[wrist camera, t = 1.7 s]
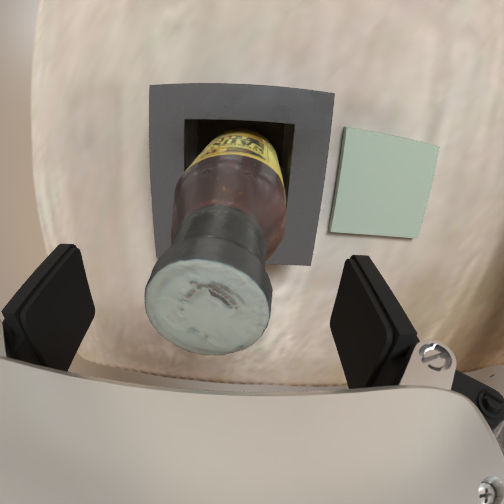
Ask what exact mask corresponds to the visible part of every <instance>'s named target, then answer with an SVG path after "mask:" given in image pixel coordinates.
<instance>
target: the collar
mask: <svg viewBox="0 0 504 504" xmlns="http://www.w3.org/2000/svg"><path fill="white" fill-rule="evenodd" d="M334 96H335V93H328V92H322V91H314V90H307V89H298V88H289V87H279V86H266V85H251V84H225V83H188V84H163V85H150V89H149V149H150V177H151V196H152V211H153V224H154V236H155V247H156V256H157V258H160V256H161V255H162V254H163V253H164V252H165V251H166V250H167V249H169V248H170V247H171V245H172V243H171V227H172V214H173V202H174V192H175V188H176V185H177V182H178V180H179V179H180V177H181V176H182V174H183V173H184V172H185V171H186V169H187V168H188V167H189V166H190V165H191V164H192V163H193V162H194V160H195V159H196V158H197V148H198V119H224V120H248V121H265V122H278V123H285V125H284V137H283V148H282V159H281V174H282V179H283V184H284V189H285V196H286V212H287V218H286V225H285V231H284V236H283V239H282V241H281V242H280V244H279V245H278V247H277V249H276V250H275V253H274V254H273V255H272V256H271V257H270V258H269V259H268V260H267V261H266V262H265V264H281V265H304V266H311V261H312V255H313V250H314V244H315V238H316V232H317V226H318V220H319V214H320V207H321V201H322V194H323V187H324V180H325V173H326V165H327V158H328V150H329V142H330V133H331V125H332V116H333V106H334Z"/></svg>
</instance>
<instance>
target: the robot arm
mask: <svg viewBox="0 0 504 504" xmlns="http://www.w3.org/2000/svg"><path fill="white" fill-rule="evenodd" d="M2 314H3V316H4V318H5V319H4V320H3V322H2V321H1V320H0V504H504V398H503V396H502V395H501V394H500V393H499V392H497V391H496V390H494V389H493V388H491V387H489V386H487V385H485V384H483V383H481V382H479V381H477V380H475V379H473V378H471V377H469V376H467V375H465V374H463V373H461V372H459V371H457V370H455V369H456V358H455V355H454V354H453V352H452V351H451V350H450V349H449V348H448V347H447V346H446V345H444V344H442V343H441V342H438V341H435V340H423V341H421V342H420V341H419V339H418V337H417V332H416V330H415V329H414V327H413V325H412V324H411V322H410V320H409V319H408V317H407V315H406V314H405V312H404V310H403V309H402V307H401V305H400V304H399V302H398V300H397V299H396V297H395V296H394V294H393V292H392V291H391V289H390V288H389V286H388V285H387V283H386V281H385V280H384V278H383V277H382V275H381V274H380V272H379V271H378V269H377V268H376V266H375V265H374V263H373V262H372V260H371V259H370V257H369V256H365V255H352V256H351V258H350V259H347V260H346V261H345V264H344V268H343V273H342V277H341V281H340V285H339V289H338V293H337V296H336V300H335V304H334V308H333V311H332V315H331V319H330V328H331V332H332V335H333V338H334V341H335V344H336V347H337V351H338V354H339V357H340V360H341V364H342V367H343V370H344V373H345V377H346V380H347V383H348V387H349V389H342V390H325V391H303V392H230V391H209V390H193V389H181V388H169V387H160V386H151V385H143V384H135V383H128V382H121V381H115V380H108V379H102V378H97V377H91V376H86V375H81V374H76V373H71V372H67V371H68V369H69V367H70V365H71V362H72V360H73V358H74V356H75V354H76V352H77V350H78V348H79V346H80V344H81V342H82V340H83V338H84V336H85V334H86V332H87V330H88V328H89V326H90V324H91V322H92V320H93V318H94V316H95V307H94V303H93V300H92V296H91V293H90V289H89V285H88V281H87V277H86V273H85V269H84V265H83V260H82V256H81V252H80V250H79V249H78V248H77V247H76V246H75V245H74V244H60V245H58V246H57V247H56V248H55V249H54V251H53V252H52V253H51V254H50V255H49V256H48V257H47V258H46V259H45V260H44V261H43V263H41V265H40V266H39V267H38V268H37V269H36V270H35V271H34V272H33V274H32V275H31V276H30V277H29V278H28V279H27V281H26V282H25V283H24V284H23V285H22V286H21V288H20V289H19V290H18V291H17V292H16V294H15V295H14V296H13V297H12V299H11V300H10V301H9V302H8V304H7V305H6V306H5V308H4V309H3V310H2Z"/></svg>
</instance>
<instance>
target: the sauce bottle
mask: <svg viewBox="0 0 504 504" xmlns="http://www.w3.org/2000/svg"><path fill="white" fill-rule="evenodd" d="M286 218H287V212H286V196H285V189H284V184H283V179H282V174H281V170H280V166H279V162H278V158H277V154H276V151H275V149H274V147H273V145H272V144H271V143H270V141H269V140H268V139H267V138H266V137H264V136H263V135H262V134H260V133H259V132H257V131H254V130H250V129H245V128H236V129H231V130H227V131H225V132H223V133H221V134H219V135H218V136H216V137H215V138H214V139H213V140H212V141H211V142H210V143H209V144H208V145H207V147H206V148H205V149H204V150H203V151H202V152H201V153H200V154H199V156H198V157H197V158H196V159H195V160H194V162H193V163H192V164H191V165H190V166H189V167H188V168H187V169H186V171H185V172H184V173H183V174H182V176H181V177H180V179H179V180H178V182H177V185H176V188H175V192H174V202H173V214H172V227H171V243H172V245H171V247H170V248H169V249H167V250H166V251H165V252H164V253H163V254H162V255H161V256H160V258H159V259H158V261H157V263H156V264H155V266H154V268H153V270H152V273H151V276H150V278H149V280H148V283H147V285H146V288H145V308H146V313H147V315H148V317H149V319H150V322H151V324H152V325H153V326H154V328H155V329H156V330H157V331H158V332H159V333H160V334H161V335H162V336H163V337H164V338H165V339H167V340H168V341H170V342H171V343H173V344H174V345H176V346H178V347H180V348H183V349H186V350H187V351H189V352H194V353H199V354H203V355H225V354H229V353H233V352H236V351H240V350H244V349H246V348H248V347H249V346H251V345H252V344H254V343H255V342H256V341H257V340H258V339H259V338H260V337H261V336H262V334H263V332H264V330H265V329H266V328H267V325H268V321H269V319H270V312H271V301H272V286H271V282H270V279H269V277H268V275H267V273H266V271H265V262H266V261H267V260H268V259H269V258H270V257H271V256H272V255H273V254H274V253H275V250H276V249H277V247H278V245H279V244H280V242H281V241H282V239H283V236H284V231H285V225H286Z"/></svg>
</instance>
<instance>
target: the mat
mask: <svg viewBox="0 0 504 504" xmlns="http://www.w3.org/2000/svg"><path fill="white" fill-rule="evenodd" d="M438 151H439V147H438V146H435V145H432V144H428V143H424V142H420V141H415V140H411V139H407V138H402V137H398V136H393V135H388V134H383V133H378V132H372V131H367V130H361V129H355V128H349V127H344V132H343V140H342V147H341V155H340V162H339V169H338V176H337V182H336V189H335V195H334V201H333V207H332V213H331V219H330V224H329V230H330V232H338V233H353V234H367V235H380V236H393V237H405V238H418V235H419V231H420V228H421V224H422V221H423V217H424V213H425V210H426V206H427V202H428V198H429V194H430V190H431V185H432V181H433V176H434V172H435V167H436V162H437V157H438Z"/></svg>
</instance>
